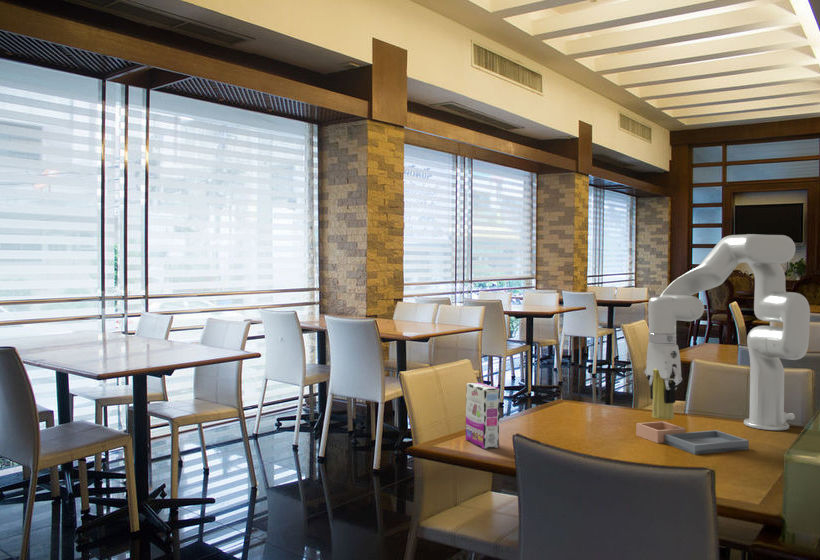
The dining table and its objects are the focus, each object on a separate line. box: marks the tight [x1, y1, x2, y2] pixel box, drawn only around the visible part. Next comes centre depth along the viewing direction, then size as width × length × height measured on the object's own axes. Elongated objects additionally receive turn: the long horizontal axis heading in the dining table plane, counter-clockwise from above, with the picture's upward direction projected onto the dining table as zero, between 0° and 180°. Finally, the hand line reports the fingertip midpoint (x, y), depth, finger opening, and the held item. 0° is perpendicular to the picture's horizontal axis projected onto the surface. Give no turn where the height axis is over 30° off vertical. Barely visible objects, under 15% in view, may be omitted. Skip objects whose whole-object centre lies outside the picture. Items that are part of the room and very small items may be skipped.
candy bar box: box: [465, 382, 501, 450], centre depth 186 cm, size 11×5×16 cm, turn 23°
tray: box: [663, 429, 750, 456], centre depth 185 cm, size 18×12×2 cm, turn 108°
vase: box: [651, 369, 675, 421], centre depth 194 cm, size 6×6×14 cm
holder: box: [635, 420, 687, 444], centre depth 194 cm, size 10×10×4 cm
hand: (662, 400), depth 194 cm, fingers closed on vase, 5 cm apart
